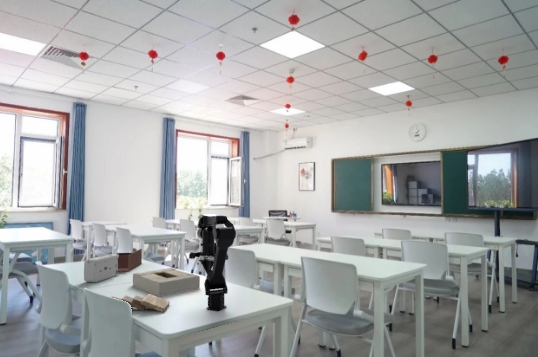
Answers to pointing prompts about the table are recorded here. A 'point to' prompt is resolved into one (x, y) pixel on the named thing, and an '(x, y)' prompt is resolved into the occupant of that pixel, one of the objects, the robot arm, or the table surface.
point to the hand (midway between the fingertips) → (208, 274)
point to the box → (166, 281)
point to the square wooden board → (155, 302)
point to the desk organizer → (129, 261)
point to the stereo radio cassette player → (100, 267)
